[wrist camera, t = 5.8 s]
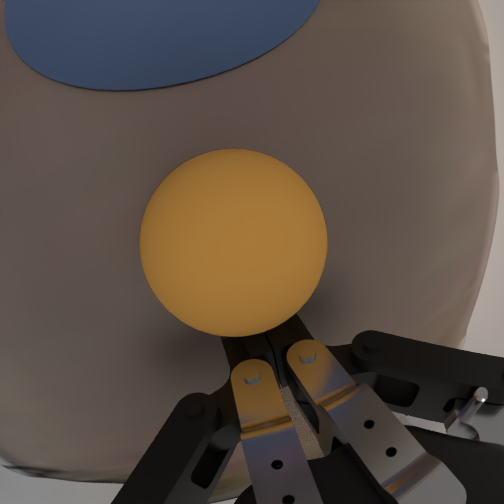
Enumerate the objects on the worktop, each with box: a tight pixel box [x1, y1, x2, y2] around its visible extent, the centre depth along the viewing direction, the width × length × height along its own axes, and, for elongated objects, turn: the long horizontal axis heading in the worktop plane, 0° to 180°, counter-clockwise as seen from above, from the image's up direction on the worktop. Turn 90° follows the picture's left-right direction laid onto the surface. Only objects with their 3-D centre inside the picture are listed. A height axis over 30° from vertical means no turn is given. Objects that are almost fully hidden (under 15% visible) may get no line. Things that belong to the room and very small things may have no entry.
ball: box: [140, 149, 327, 337], centre depth 9 cm, size 6×6×6 cm
